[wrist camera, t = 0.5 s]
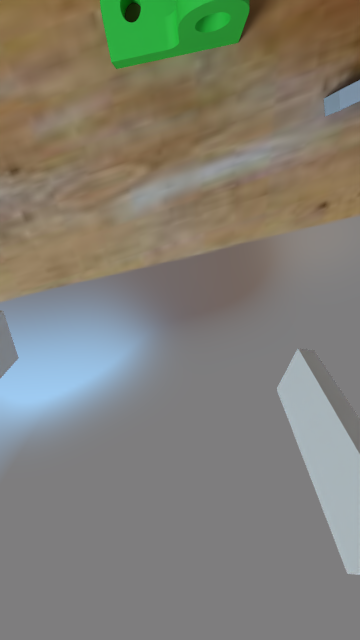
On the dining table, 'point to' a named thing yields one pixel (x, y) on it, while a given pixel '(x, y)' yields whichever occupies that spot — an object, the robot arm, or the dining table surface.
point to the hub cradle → (342, 98)
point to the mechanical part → (170, 28)
